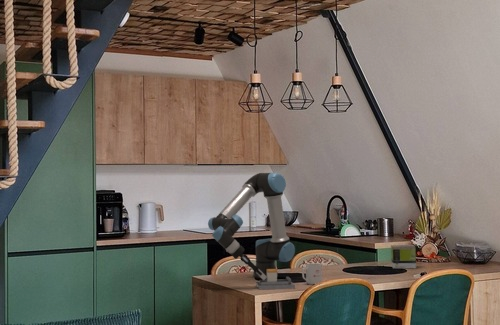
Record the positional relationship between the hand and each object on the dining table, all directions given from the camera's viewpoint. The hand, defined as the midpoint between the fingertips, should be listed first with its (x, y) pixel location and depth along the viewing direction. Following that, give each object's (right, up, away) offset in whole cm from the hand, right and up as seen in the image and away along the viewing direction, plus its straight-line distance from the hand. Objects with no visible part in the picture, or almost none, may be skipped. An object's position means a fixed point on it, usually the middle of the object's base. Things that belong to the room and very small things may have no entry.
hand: (265, 278), depth 387 cm
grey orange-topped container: (+4, -3, +1) cm, 5 cm away
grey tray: (+6, -5, +1) cm, 8 cm away
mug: (+27, -5, +9) cm, 29 cm away
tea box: (+93, -5, +70) cm, 117 cm away
